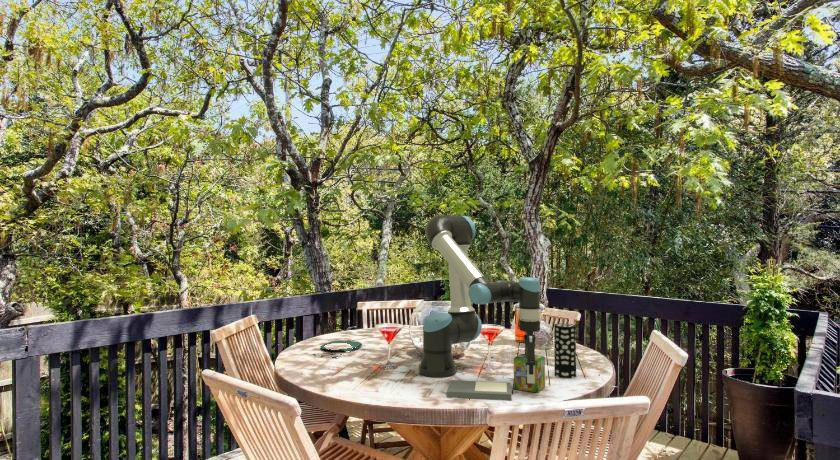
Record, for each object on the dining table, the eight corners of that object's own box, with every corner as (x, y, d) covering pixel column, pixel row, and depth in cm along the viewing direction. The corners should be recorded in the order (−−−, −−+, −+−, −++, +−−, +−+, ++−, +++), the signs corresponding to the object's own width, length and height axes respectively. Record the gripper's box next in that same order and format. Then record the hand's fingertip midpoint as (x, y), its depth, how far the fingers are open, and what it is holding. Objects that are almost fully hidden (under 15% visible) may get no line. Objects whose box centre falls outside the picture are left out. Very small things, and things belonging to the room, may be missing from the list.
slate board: (447, 397, 177) (446, 390, 177) (450, 385, 191) (450, 379, 191) (511, 400, 173) (511, 393, 173) (510, 387, 187) (510, 381, 187)
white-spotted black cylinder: (564, 379, 198) (564, 327, 198) (550, 374, 205) (549, 324, 206) (580, 376, 202) (580, 326, 202) (565, 371, 209) (565, 322, 209)
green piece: (368, 345, 259) (368, 341, 259) (340, 360, 231) (340, 355, 231) (333, 343, 266) (333, 339, 266) (302, 358, 237) (302, 353, 237)
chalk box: (537, 393, 181) (537, 351, 181) (513, 389, 186) (513, 348, 186) (546, 386, 189) (545, 346, 189) (522, 383, 193) (522, 344, 194)
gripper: (543, 326, 174) (543, 388, 174) (537, 314, 199) (537, 369, 199) (520, 325, 176) (520, 387, 175) (517, 314, 200) (518, 368, 200)
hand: (529, 377), depth 187 cm, fingers open, 13 cm apart
